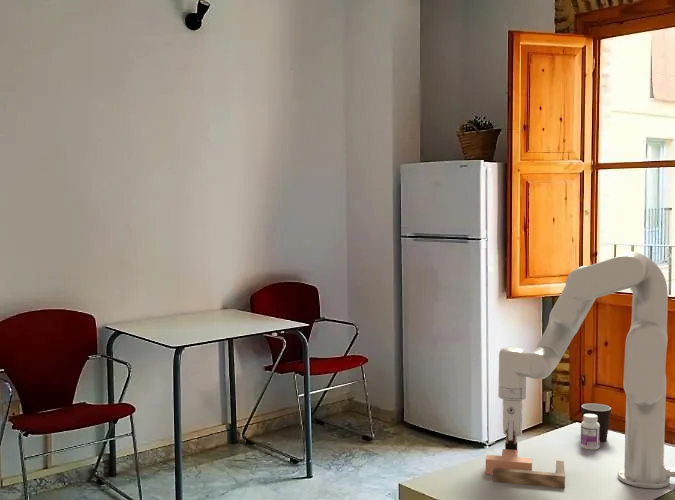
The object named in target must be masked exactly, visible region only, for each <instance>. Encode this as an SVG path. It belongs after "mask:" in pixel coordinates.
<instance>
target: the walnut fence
mask: <svg viewBox="0 0 675 500" xmlns="http://www.w3.org/2000/svg"><path fill="white" fill-rule="evenodd" d="M555 461H556V462H555V472H546V471H536V470H532V471H527V470H516V469H504V468H493V475H492V482H497V483H507V484H517V485H528V486H537V487H549V488H561V489H565V488H566V470H565V461H564V460H555Z"/></svg>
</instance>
